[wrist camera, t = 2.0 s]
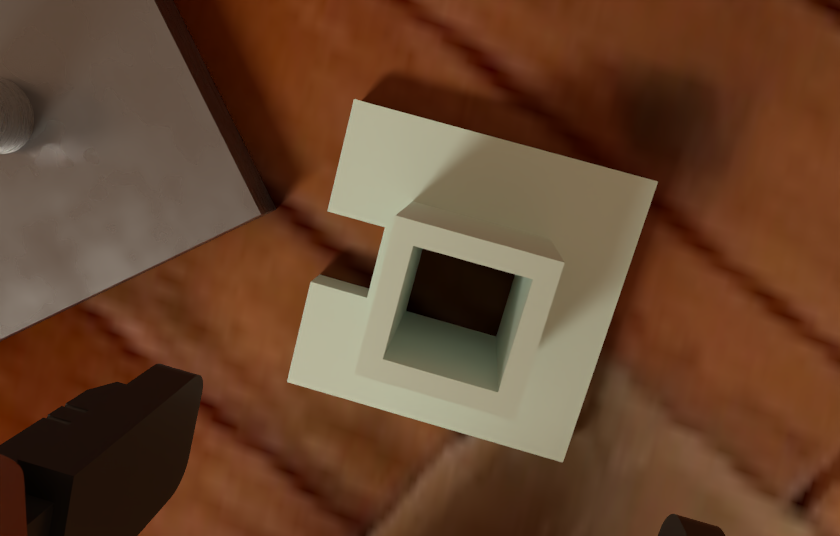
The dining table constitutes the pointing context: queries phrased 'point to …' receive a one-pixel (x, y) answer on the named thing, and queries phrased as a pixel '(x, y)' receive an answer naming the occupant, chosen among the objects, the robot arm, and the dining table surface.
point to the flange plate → (482, 244)
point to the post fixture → (108, 152)
